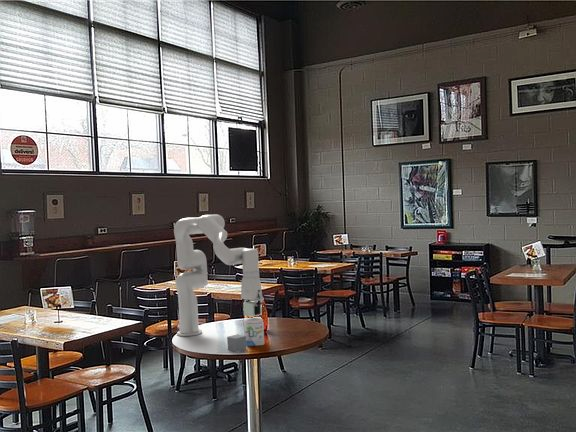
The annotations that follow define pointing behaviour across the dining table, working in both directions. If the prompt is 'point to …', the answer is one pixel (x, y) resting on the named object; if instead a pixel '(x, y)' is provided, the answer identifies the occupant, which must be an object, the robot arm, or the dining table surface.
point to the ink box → (254, 331)
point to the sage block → (250, 309)
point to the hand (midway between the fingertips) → (252, 313)
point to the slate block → (236, 343)
